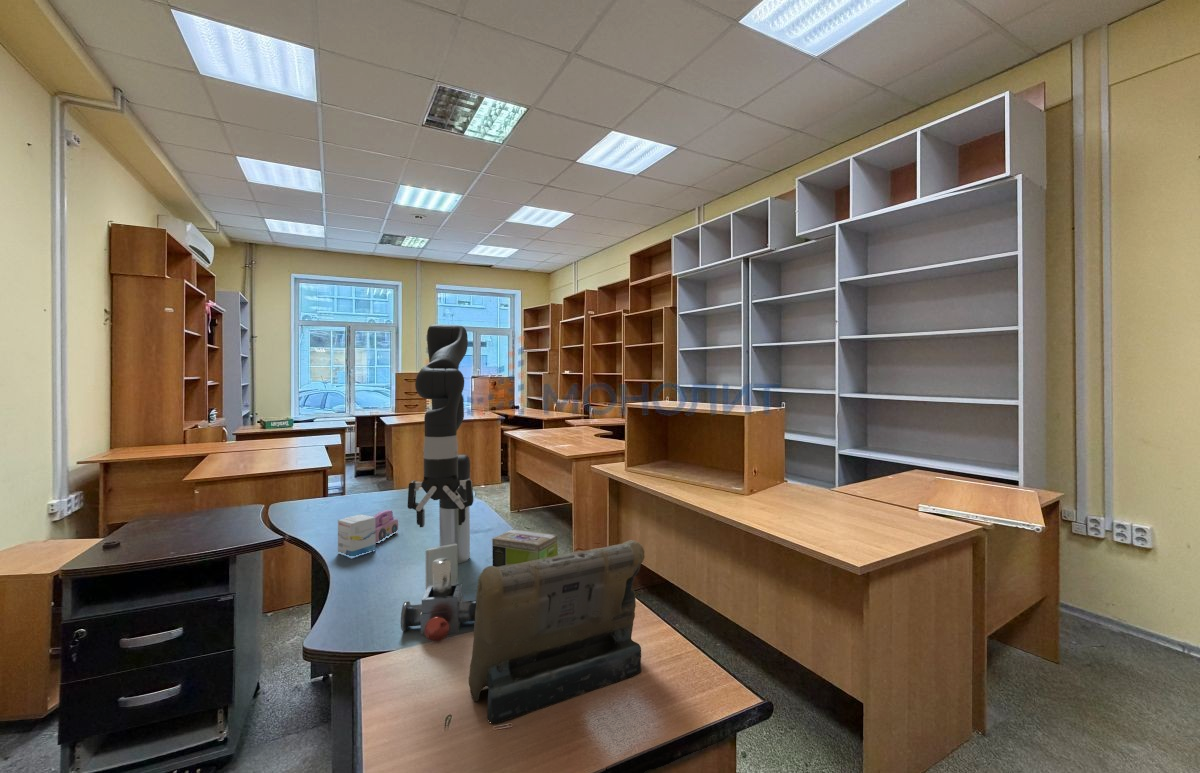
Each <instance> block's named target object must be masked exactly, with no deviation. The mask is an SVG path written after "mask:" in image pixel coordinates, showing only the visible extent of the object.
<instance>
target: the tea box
mask: <svg viewBox="0 0 1200 773" xmlns="http://www.w3.org/2000/svg"><path fill="white" fill-rule="evenodd" d="M491 540H492V549H491V550H492V551H491V552H492V566H495V567H499V566H503V565H509V564H517V563H523V562H528V561H532V560H538V559H542V558H547V557H553V556H558V554H559V553H558V552H559V551H558V534H556V533H555V534H554V533H553V534H552V533H545V532H538V531H531V530H524V529H523V530H521V529H515V528H513V529H510V530H508V531H506V532H503V533H502V534H500V535H497V536H495V537H493V538H492V539H491Z"/></svg>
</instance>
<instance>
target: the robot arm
mask: <svg viewBox="0 0 1200 773" xmlns="http://www.w3.org/2000/svg"><path fill="white" fill-rule="evenodd" d="M468 342H469V340H468V332H467V329H466V328H465V327H464V326H463V325H458V324H431V325H429V326H428V328H427V332H426V343H427V345H426V346H427V354H428V362H429V363H428V364H426V365H424V367H423V366H422V368H421V369H420V370H419V372H418V373H417V374H416V378H415V382H414V384H415V385H414V386H415V390H416V393H417V394H418V396H419V397H421V398H422V399H425V400H431V410H430V409H429V410H428V411H426V412H425V414H424V439H423V440H424V441H423V451H422V456H423V480H422V481H416V480H412V481H410V482H409V483H408V488H407V489H408V490H407V491H408V493H407V509H409V510H411V509H412V510H414V511H416V524H417V526H419V528H425V521H426V520H425V518H426V517H425V516H426V514H425V512H426V511H425V508H424V506H425V505H426V504H427V503H428V502H429V500H430V499H431V500H433V501H438V500H439V502H438V503H439V504H438V506H439V507H438V508H439V510H438V513H439V519H438V520H439V547H440V546H445V545H450V544H457V545H458V564H463V563H465V562H467V561H469V560H470V559H469V558H470V557H471V552H470V551H471V547H470V546H471V526H470V525H471V523H470V521H471V520H470V518H471V517H470V507H471V506H473V504H474V501H475V499H474V490H473V488H474V487H473V479H472V478H471V475H470V474H471V460H470V459H471V458H470V457H469V456H468V455H467V454H459V444H458V434H457V433H458V432H457V431H458V429H459V428H460V427H461V425H462V423H463V421H464V419H465V418H464V417H465V406H464V404H465V402H464V397H463V391H464V388H465V377H464V375H463V373H462V372H461V371H460V370H459V368H460V363H461V362H462V361H463V359H464V358H465V356H466V354H467V351H468V347H469V346H468V344H469V343H468ZM420 488H422V490H423V491H424V492H425V493H426V494H425V495H424V496H423V498H422V499H421V500H420V501H419V502H416V498H417V492H418V491H419V489H420ZM468 559H469V560H468Z"/></svg>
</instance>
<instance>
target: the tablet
mask: <svg viewBox="0 0 1200 773" xmlns="http://www.w3.org/2000/svg"><path fill="white" fill-rule="evenodd" d="M645 557H646V556H645V550H644V547H643V545H642V544H641V543H640V542H639V541H636V540H634V539H630V540H627V541H624V542H622V543H619V544H614V545H613V544H612V545H608V546H604V547H598V548H597V547H596V548H591V549H587V550H578V551H577V550H576V551H573V552H568V553H563V554H559V555H558V556H553V557H547V558H542V559H538V560H532V561H528V562H523V563H517V564H509V565H503V566H499V567H495V566H493V565H490V566H488V565H487V566H486V567H485V568H483V570H482V571H481V573H480V575H479V577H478V581H477V588H476V597H477V600H476V599H475V600H476V610H475V621H474V624H473V641H472V653H471V654H472V655H471V660H470V665H469V675H468V686H469V689H470V690H469V692H470V695H471V697H472V696H473V697H472V700H473V701H474V702H477V701H480V700H479V699H480V694H481V691H482V690H483V689H485V688H486V687H487V688H488V692H487V716H486V717H487V718H486V720H487V719H488V720H489V722H491V723H494V724H499V723H502V722H504V721H508V720H511V719H515V718H518V717H520V716H524V715H525V714H529V713H533V712H535V711H537V710H540V709H543V708H547V707H548V706H552V705H555V704H558V703H561V702H565V701H567V700H570V699H572V698H575V697H577V696H581V695H583V694H586V693H590V692H593V691H595V690H599V689H601V688H604V687H606V686H608V685H611V684H614V683H617V682H621V681H623V680H626V679H628V678H631V677H633V676H636V675H638V674H640V673H641V672H642V665H641V662H642V647H641V645H640V644H639V643H638V642H636V641H634V640H633V639H632V635H633V628H634V620H635V618H636V612H635V611H636V607H637V604H636V603H637V602H636V591H635V590H634V589H633V588H632V587H633V583H634V578H635V577H636V576H637V574H638V573H639V572H640V569H641V566H642V563H643V561H644V560H645ZM488 720H487V721H488ZM489 722H488V723H489ZM491 723H490V724H491Z"/></svg>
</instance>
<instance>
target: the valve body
mask: <svg viewBox="0 0 1200 773" xmlns="http://www.w3.org/2000/svg"><path fill="white" fill-rule="evenodd" d="M462 588H463V586H462V583H461V582H460V583H459V582H458V584H451V591H452V596H442V597H433V585H431V586H428V587H427V590H426V589H425V592H424V594H423V596H422V598H421V603H420V604H411V602H410V601H404V603H403V604H402V608H401V613H400V630H401V631H402V632H407V631H409V630H408V629H409V628H410V627H419V626H420V638H421V637H422V638H423V637H426V639H428V641H430V642H441V641H442V640H444V639H446V637H447V636H448V635H459V632H460V628H461V624H462V623H465V622H475V610H476V600H477V596H476V598H475V599H473V600H471V599H470V600H464V598H463V597H464V595H463V593H462V592H463V591H462Z"/></svg>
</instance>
